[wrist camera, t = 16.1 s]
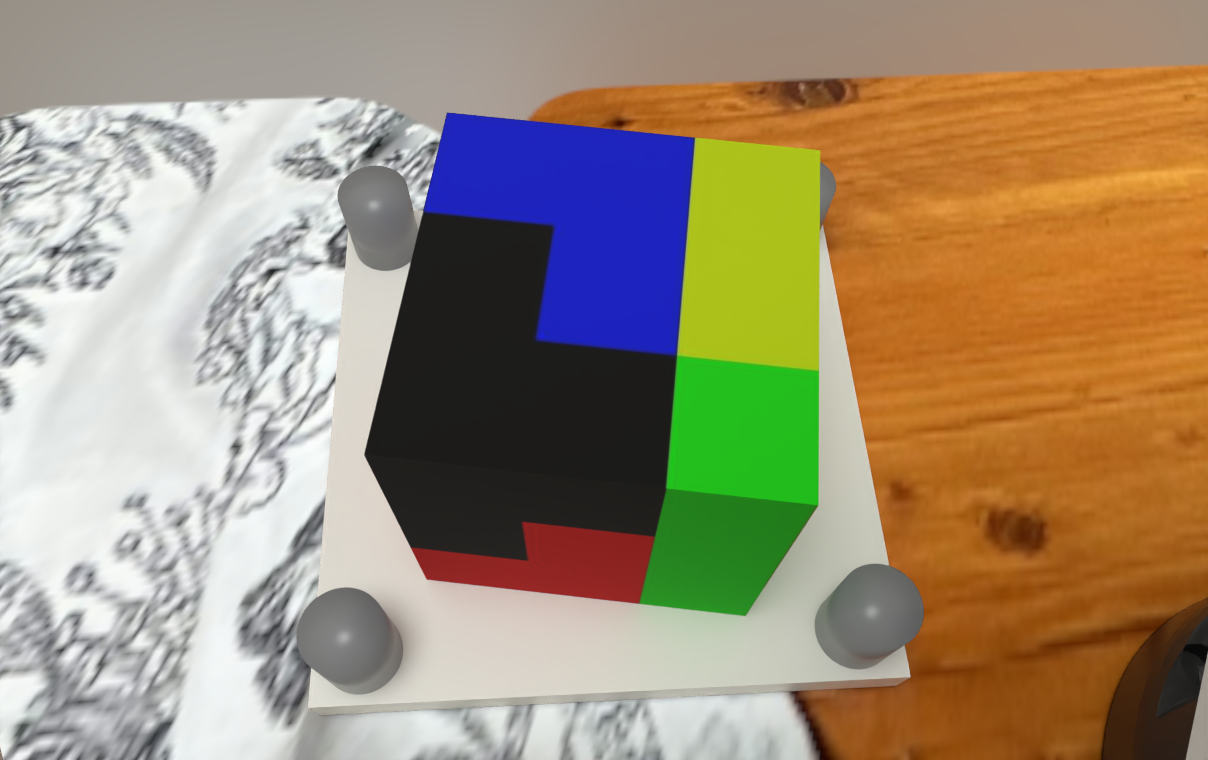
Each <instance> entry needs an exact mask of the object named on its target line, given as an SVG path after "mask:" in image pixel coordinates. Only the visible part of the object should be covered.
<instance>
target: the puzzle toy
mask: <svg viewBox="0 0 1208 760" xmlns="http://www.w3.org/2000/svg"><path fill="white" fill-rule="evenodd" d="M819 292H820V150H811V149H801V148H791V147H781V146H772V145H762V144H752V143H742V142H732V141H722V140H712V139H703V138H693V137H683V136H673V135H663V134H653V133H644V132H634V131H624V130H614V129H604V128H594V127H584V126H575V125H565V124H555V123H545V122H535V121H525V120H515V119H505V118H495V117H486V116H476V115H466V114H456V113H447V115H446V119H445V124H444V127H443V132H442V136H441V140H440V144H439V148H438V152H437V156H436V160H435V164H434V169H433V173H432V177H431V181H430V185H429V189H428V193H427V197H426V201H425V206H424V210H423V214H422V218H421V222H420V226H419V230H418V234H417V239H416V243H415V247H414V251H413V255H412V259H411V263H410V267H409V271H408V276H407V280H406V284H405V288H404V292H403V296H402V300H401V304H400V308H399V313H398V317H397V321H396V325H395V329H394V333H393V337H392V341H391V346H390V350H389V354H388V358H387V362H386V366H385V370H384V374H383V378H382V383H381V387H380V391H379V395H378V399H377V403H376V407H375V411H374V415H373V420H372V424H371V428H370V432H369V436H368V440H367V444H366V448H365V453H364V456H365V458H366V460H367V462H368V464H369V466H370V468H371V470H372V472H373V474H374V476H375V478H376V480H377V482H378V484H379V486H380V488H381V490H382V492H383V494H384V496H385V498H386V500H387V502H388V504H389V506H390V508H391V510H392V512H393V514H394V516H395V518H396V520H397V522H398V524H399V526H400V528H401V530H402V532H403V534H404V536H405V538H406V540H407V542H408V544H409V546H410V548H411V550H412V552H413V554H414V556H415V558H416V560H417V562H418V564H419V566H420V568H421V569H422V571H423V573H424V575H425V577H426V579H427V580H434V581H443V582H451V583H460V584H469V585H478V586H486V587H495V588H504V589H513V590H521V591H530V592H539V593H548V594H556V595H565V596H574V597H583V598H591V599H600V600H609V601H618V602H626V603H635V604H644V605H653V606H661V607H670V608H679V609H688V610H696V611H705V612H714V613H723V614H731V615H740V616H746V615H747V613H748V612H749V610H750V609H751V607H752V606H753V604H754V603H755V601H756V600H757V598H758V597H759V595H760V594H761V592H762V591H763V589H764V587H765V586H766V584H767V583H768V581H769V580H770V578H771V577H772V575H773V574H774V572H775V571H776V569H777V568H778V566H779V565H780V563H781V562H782V560H783V559H784V557H785V556H786V554H787V553H788V551H789V550H790V548H791V546H792V545H793V543H794V542H795V540H796V539H797V537H798V536H799V534H800V533H801V531H802V530H803V528H804V527H805V525H806V524H807V522H808V521H809V519H810V518H811V516H812V515H813V513H814V512H815V510H816V509H817V507H818V506H819Z"/></svg>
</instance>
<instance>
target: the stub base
mask: <svg viewBox="0 0 1208 760" xmlns="http://www.w3.org/2000/svg"><path fill="white" fill-rule="evenodd" d="M835 190H836V182H835V178H834V176H833V174H832V172H831V171H830V170H829V169H828V168H827V167H826V166H825V165H824V164H823V163H821V162H820V292H819V506H818V507H817V509H816V510H815V512H814V513H813V515H812V516H811V518H810V519H809V521H808V522H807V524H806V525H805V527H804V528H803V530H802V531H801V533H800V534H799V536H798V537H797V539H796V540H795V542H794V543H793V545H792V546H791V548H790V550H789V551H788V553H787V554H786V556H785V557H784V559H783V560H782V562H781V563H780V565H779V566H778V568H777V569H776V571H775V572H774V574H773V575H772V577H771V578H770V580H769V581H768V583H767V584H766V586H765V587H764V589H763V591H762V592H761V594H760V595H759V597H758V598H757V600H756V601H755V603H754V604H753V606H752V607H751V609H750V610H749V612H748V613H747V615H746V616H740V615H731V614H723V613H714V612H705V611H696V610H688V609H679V608H670V607H661V606H653V605H644V604H635V603H626V602H618V601H609V600H600V599H591V598H583V597H574V596H565V595H556V594H548V593H539V592H530V591H521V590H513V589H504V588H495V587H486V586H478V585H469V584H460V583H451V582H443V581H434V580H427V579H426V577H425V575H424V573H423V571H422V569H421V568H420V566H419V564H418V562H417V560H416V558H415V556H414V554H413V552H412V550H411V548H410V546H409V544H408V542H407V540H406V538H405V536H404V534H403V532H402V530H401V528H400V526H399V524H398V522H397V520H396V518H395V516H394V514H393V512H392V510H391V508H390V506H389V504H388V502H387V500H386V498H385V496H384V494H383V492H382V490H381V488H380V486H379V484H378V482H377V480H376V478H375V476H374V474H373V472H372V470H371V468H370V466H369V464H368V462H367V460H366V458H365V456H364V453H365V448H366V444H367V440H368V436H369V432H370V428H371V424H372V420H373V415H374V411H375V407H376V403H377V399H378V395H379V391H380V387H381V383H382V378H383V374H384V370H385V366H386V362H387V358H388V354H389V350H390V346H391V341H392V337H393V333H394V329H395V325H396V321H397V317H398V313H399V308H400V304H401V300H402V296H403V292H404V288H405V284H406V280H407V276H408V271H409V267H410V263H411V259H412V255H413V251H414V247H415V243H416V239H417V234H418V230H419V226H420V222H421V218H422V214H423V211H413V208H412V204H411V199H410V195H409V191H408V187H407V184H406V181H405V180H404V178H403V177H402V176H401V175H400V174H399V173H398V172H396V171H395V170H393V169H390V168H387V167H383V166H369V167H364V168H361V169H358V170H356V171H354V172H352V173H351V174H349V175H348V176H347V177H346V178H345V179H344V180H343V182H342V183H341V185H340V187H339V190H338V202H339V205H340V208H341V211H342V214H343V216H344V219H345V222H346V225H347V228H348V242H347V254H346V266H345V278H344V289H343V301H342V313H341V325H340V337H339V348H338V360H337V372H336V384H335V396H334V407H333V419H332V431H331V443H330V455H329V466H328V478H327V490H326V502H325V514H324V525H323V537H322V549H321V561H320V573H319V584H318V596H317V598H316V599H315V600H313V601H312V602H311V603H310V605H309V606H308V607H307V608H306V610H305V611H304V613H303V614H302V616H301V619H300V621H299V624H298V628H297V645H298V649H299V652H300V654H301V656H302V658H303V660H304V661H305V662H306V663H307V664H308V665H309V666H310V667H311V679H310V691H309V702H308V708H309V709H311V710H312V711H314V712H316V713H317V714H319V715H337V714H357V713H376V712H396V711H415V710H435V709H454V708H474V707H493V706H513V705H532V704H552V703H571V702H591V701H610V700H629V699H649V698H668V697H688V696H707V695H727V694H746V693H766V692H785V691H805V690H824V689H844V688H863V687H883V686H897V685H898V684H900V683H902V682H903V681H905V680H907V679H908V678H910V677H911V676H910V670H909V665H908V660H907V655H906V650H905V644H907V643H908V642H910V641H911V640H912V639H913V638H914V637H915V636H916V635H917V633H918V632H919V630H920V628H921V625H922V622H923V617H924V607H923V602H922V598H921V596H920V593H919V591H918V589H917V587H916V586H915V585H914V583H913V582H912V581H911V580H910V579H909V578H908V577H907V576H906V575H905V574H904V573H902V572H901V571H899V570H897V569H895V568H893V567H891V566H889V563H888V557H887V552H886V547H885V542H884V537H883V532H882V527H881V521H880V516H879V511H878V506H877V501H876V496H875V491H874V485H873V480H872V475H871V470H870V465H869V460H868V455H867V449H866V444H865V439H864V434H863V429H862V424H861V419H860V414H859V408H858V403H857V398H856V393H855V388H854V383H853V378H852V372H851V367H850V362H849V357H848V352H847V347H846V342H845V336H844V331H843V326H842V321H841V316H840V311H839V306H838V300H837V295H836V290H835V285H834V280H833V275H832V270H831V265H830V259H829V254H828V249H827V244H826V239H825V234H824V229H823V222H824V220H825V217H826V214H827V212H828V209H829V206H830V204H831V201H832V199H833V196H834V193H835Z"/></svg>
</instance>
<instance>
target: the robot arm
mask: <svg viewBox="0 0 1208 760" xmlns="http://www.w3.org/2000/svg"><path fill="white" fill-rule="evenodd" d="M0 760H3V758H2V753H1V749H0ZM1103 760H1208V598H1207V599H1204V600H1202V601H1200V602H1198V603H1196V604H1193V605H1191V606H1190V607H1188V608H1186V609H1185V610H1183V611H1181V612H1179V613H1178V614H1176V615H1175V616H1174V617H1172V618H1171V619H1170V620H1168V621H1167V622H1166V623H1164V624H1163V625H1162V626H1161V627H1160V628H1159V629H1158V630H1157V631H1155V632H1154V633H1153V635H1152V636H1151V637H1150V638H1149V639H1148V640H1147V641H1146V642H1145V643H1144V645H1143V646H1142V647H1141V648H1140V650H1139V651H1138V652H1137V654H1136V655H1135V657H1134V658H1133V660H1132V661H1131V663H1130V665H1129V666H1128V668H1127V670H1126V672H1125V674H1124V676H1123V678H1122V680H1121V682H1120V684H1119V687H1118V689H1117V692H1116V694H1115V697H1114V700H1113V703H1112V707H1111V710H1110V713H1109V718H1108V723H1107V728H1106V733H1105V741H1104V749H1103Z"/></svg>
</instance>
